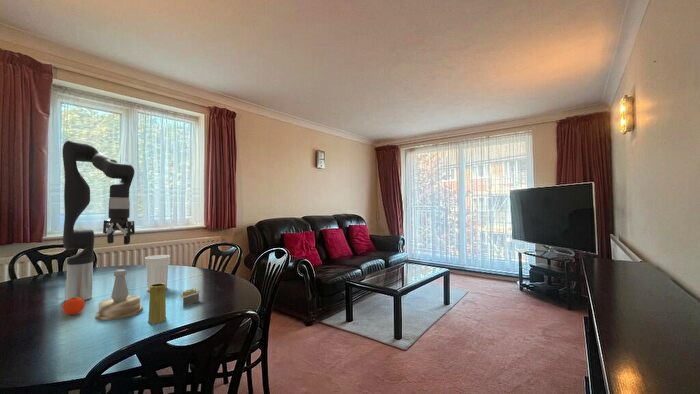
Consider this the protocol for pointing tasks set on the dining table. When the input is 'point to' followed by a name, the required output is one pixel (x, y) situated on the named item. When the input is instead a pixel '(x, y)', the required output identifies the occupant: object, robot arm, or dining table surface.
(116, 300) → the salt shaker
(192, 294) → the platform
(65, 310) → the clementine
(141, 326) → the dining table surface
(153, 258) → the cup
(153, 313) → the vase
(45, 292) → the dining table surface
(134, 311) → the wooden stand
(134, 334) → the dining table surface
